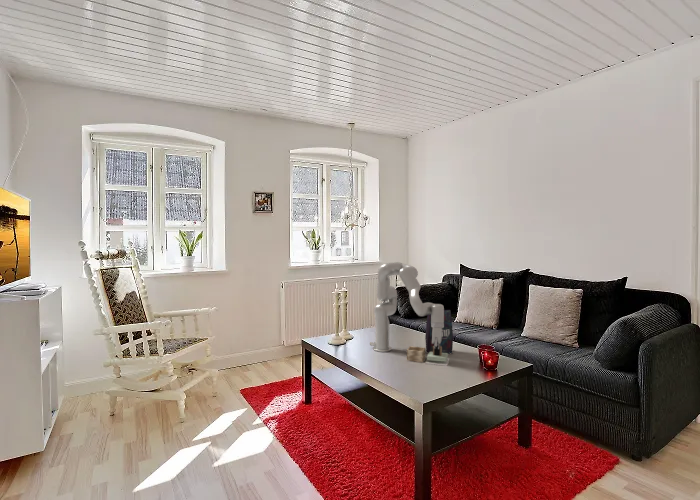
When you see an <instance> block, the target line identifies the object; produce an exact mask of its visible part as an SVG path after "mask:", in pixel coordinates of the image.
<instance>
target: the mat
mask: <svg viewBox="0 0 700 500" xmlns="http://www.w3.org/2000/svg"><path fill="white" fill-rule="evenodd" d="M449 362H450V358H447V360H446V362H444V361H434V360H427V359H426V360H425V361H424V364H425V365H426V364H427V365H434V364H435V365H436V366H437V365H438V366H445V367H447V366H448V364H449Z"/></svg>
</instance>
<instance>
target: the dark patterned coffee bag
mask: <svg viewBox="0 0 700 500" xmlns="http://www.w3.org/2000/svg"><path fill="white" fill-rule="evenodd" d="M426 316H427V317H426V323H425V324H426V325H425V334H424V335H425V337H424V338H425V339H424V341H425V352H426V353H427V354H429V352H433V346H434V344H435V342H434V343H433V344H432V330H433V328H432V327H431V314H429V315H426ZM453 330H454V329H453V320H452V313H451V309H444V328H442V341H441V343H440V346H442V353H448V355H450V353H451V354H453V346H454V345H453V342H454V341H453V340H454V333H453V332H454V331H453Z"/></svg>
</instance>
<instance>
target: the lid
mask: <svg viewBox="0 0 700 500" xmlns="http://www.w3.org/2000/svg"><path fill="white" fill-rule="evenodd" d="M439 349H440V355H439V356H438V355H434V346H433V352H429V353H427V354H426V355H427V356H426V360H434V361H444V362H446V360H447V359H448V357H449V354H448V353H442V346H439Z"/></svg>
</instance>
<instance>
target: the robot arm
mask: <svg viewBox="0 0 700 500" xmlns="http://www.w3.org/2000/svg"><path fill="white" fill-rule="evenodd" d="M390 276H399V277H400V280H401V281H402V283H403V284H404V285H403V286H404V287H405V288H406V290H407V292H408V295H409V297H408V298H409V303H410V305H411V307H412V309H413V311H414V313H416V315H417V316H418V317H426V316H427V315H429V314H431V327H432V328H433V330H432V344H433V343H434V342H435V344H434V355H438V356H439V355H440V349H439V346H440V343H441V341H442V328H444V310H445V308H444V305H443V304H441V303H433V302H423V301H422V299H421V298H420V295H419V292H420V290H421V288H422V287H421V284H420V282H419V281H418V278H417V277H418V276H419V271H418V270H417V268H416V267H414V266H412V265H411V264H406V263H403V262H399V261H397V262H396V261H395V262H388V263H387V262H386V263H384V264H381V265H380V266H379V267H378V270H377V285H376V297H377V298H376V299H377V300H378V301H380V303H377V304H376V305H375V306H374V309H373V314H374V320H375V321H374V322H375V323H374V324H375V329H374V330H375V331H374V333H375V339H374V340H375V341H374V342H372V341H369V346H371V347H373V348H372V349H373V351H376V352H380V353H385V352H391V351H392V350H393V348H392V346H390V345H391V344H390V333H391V332H390V328H391V327H390V320H389V316H392V315H394V314H395V313H396V311H397V304H398V293H397V289H396V288H395V287H394V286H392V285H391V279H390Z"/></svg>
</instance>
